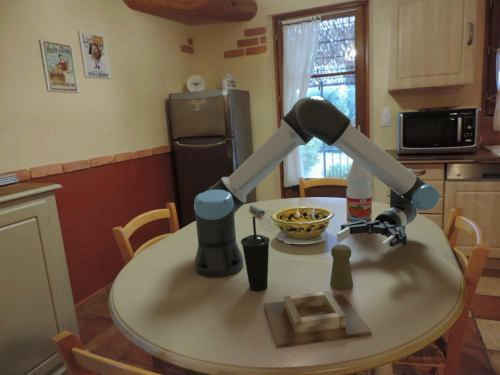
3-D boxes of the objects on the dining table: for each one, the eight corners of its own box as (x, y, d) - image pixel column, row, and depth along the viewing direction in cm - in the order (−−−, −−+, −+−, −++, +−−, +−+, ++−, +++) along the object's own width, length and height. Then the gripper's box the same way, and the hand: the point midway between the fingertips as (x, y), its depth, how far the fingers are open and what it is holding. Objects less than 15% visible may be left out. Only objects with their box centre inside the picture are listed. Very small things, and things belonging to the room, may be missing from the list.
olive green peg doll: (354, 290, 93) (354, 250, 91) (330, 289, 95) (329, 250, 92) (352, 279, 99) (352, 242, 97) (329, 279, 100) (329, 241, 98)
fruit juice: (368, 221, 146) (368, 152, 140) (374, 229, 137) (375, 155, 131) (344, 222, 147) (343, 154, 141) (349, 230, 138) (348, 157, 132)
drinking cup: (256, 278, 104) (251, 211, 99) (277, 285, 99) (274, 215, 95) (238, 289, 98) (233, 218, 94) (261, 297, 93) (256, 223, 89)
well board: (277, 347, 73) (276, 332, 72) (264, 306, 89) (263, 293, 88) (371, 334, 75) (371, 319, 74) (342, 296, 91) (342, 283, 90)
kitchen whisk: (256, 208, 178) (255, 195, 176) (283, 228, 146) (283, 213, 145) (244, 210, 176) (243, 197, 174) (269, 230, 144) (268, 215, 143)
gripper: (430, 240, 109) (404, 265, 94) (354, 226, 126) (321, 246, 111) (431, 216, 108) (404, 238, 93) (354, 206, 124) (321, 222, 110)
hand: (359, 242), depth 102 cm, fingers open, 13 cm apart
